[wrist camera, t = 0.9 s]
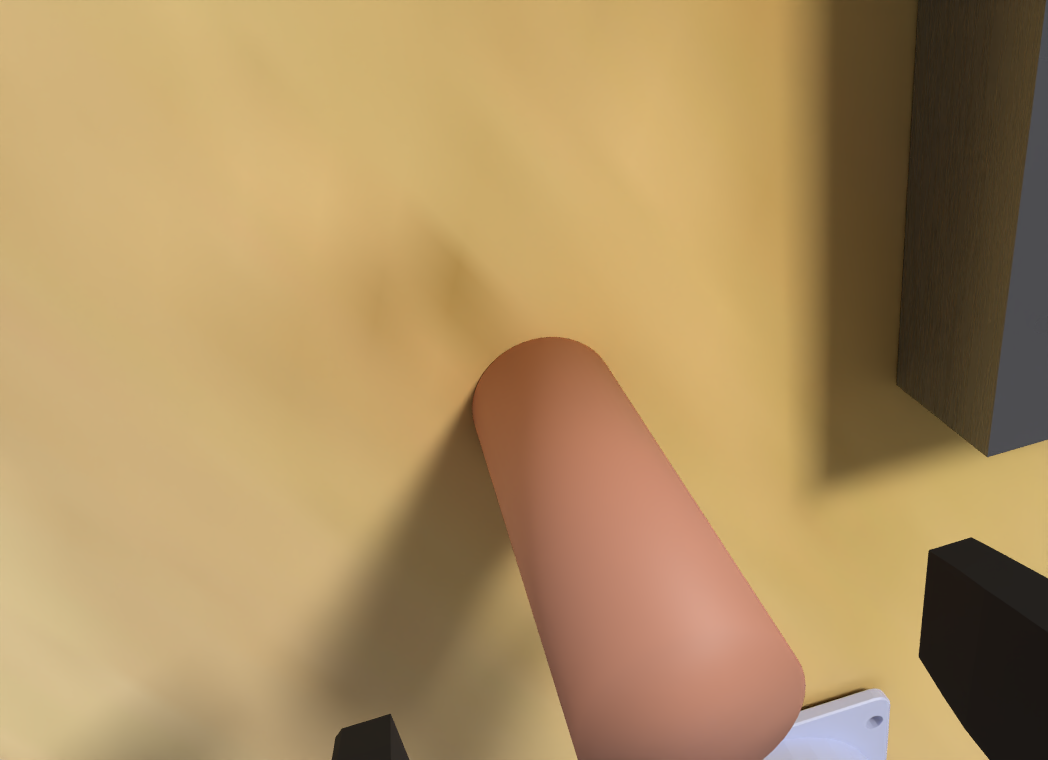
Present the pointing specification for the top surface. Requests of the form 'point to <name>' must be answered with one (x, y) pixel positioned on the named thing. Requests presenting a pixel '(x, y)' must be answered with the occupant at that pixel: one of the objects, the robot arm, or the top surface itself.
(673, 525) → the pin
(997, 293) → the collar block
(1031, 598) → the robot arm
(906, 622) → the top surface
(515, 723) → the top surface
